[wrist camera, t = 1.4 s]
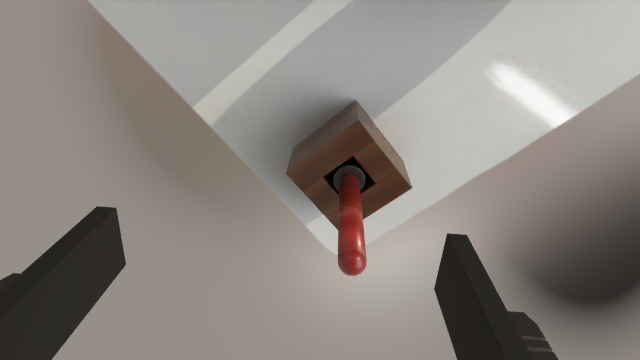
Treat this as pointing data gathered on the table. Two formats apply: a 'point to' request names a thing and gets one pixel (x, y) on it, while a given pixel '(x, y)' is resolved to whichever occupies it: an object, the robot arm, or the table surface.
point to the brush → (350, 217)
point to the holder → (338, 146)
